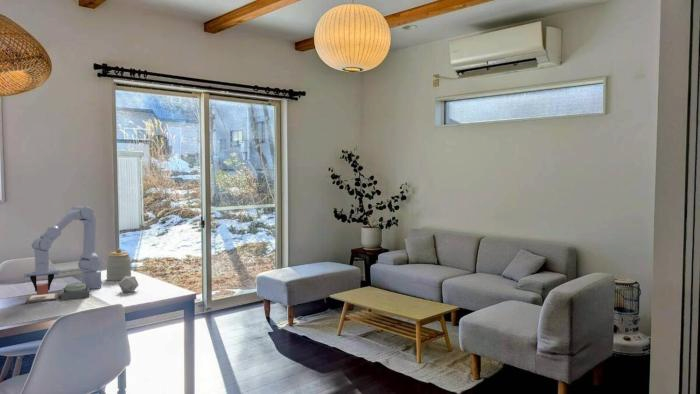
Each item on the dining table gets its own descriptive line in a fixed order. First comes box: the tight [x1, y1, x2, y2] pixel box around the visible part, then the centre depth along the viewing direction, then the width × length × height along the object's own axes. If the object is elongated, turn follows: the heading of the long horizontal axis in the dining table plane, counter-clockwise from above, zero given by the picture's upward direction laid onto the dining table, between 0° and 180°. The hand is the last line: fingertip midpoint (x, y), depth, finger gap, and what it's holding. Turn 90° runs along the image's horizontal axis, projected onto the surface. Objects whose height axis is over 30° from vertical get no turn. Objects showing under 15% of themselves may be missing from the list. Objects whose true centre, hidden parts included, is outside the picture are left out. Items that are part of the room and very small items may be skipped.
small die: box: [36, 282, 49, 295], centre depth 234 cm, size 4×4×5 cm
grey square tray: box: [60, 286, 90, 300], centre depth 241 cm, size 12×12×3 cm
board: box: [26, 292, 59, 304], centre depth 234 cm, size 12×12×1 cm
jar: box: [106, 248, 132, 282], centre depth 278 cm, size 13×13×18 cm
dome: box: [64, 282, 86, 293], centre depth 240 cm, size 9×9×3 cm
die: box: [118, 275, 139, 293], centre depth 249 cm, size 8×9×10 cm
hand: (42, 290), depth 234 cm, fingers closed on small die, 4 cm apart
